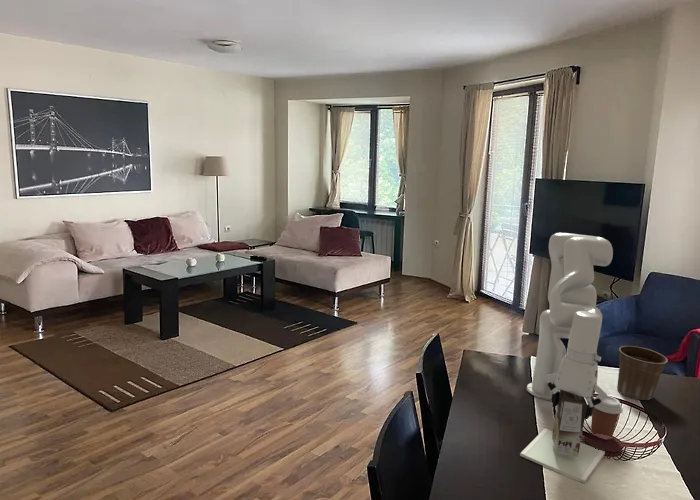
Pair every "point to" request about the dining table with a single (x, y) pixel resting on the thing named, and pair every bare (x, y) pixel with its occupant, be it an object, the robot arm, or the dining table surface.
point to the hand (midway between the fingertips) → (570, 411)
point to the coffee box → (569, 423)
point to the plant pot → (639, 372)
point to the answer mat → (563, 457)
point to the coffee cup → (605, 416)
